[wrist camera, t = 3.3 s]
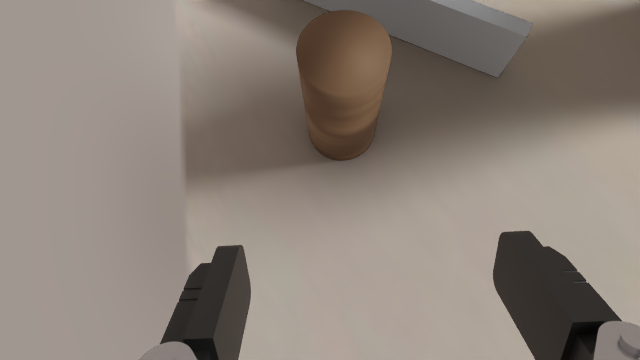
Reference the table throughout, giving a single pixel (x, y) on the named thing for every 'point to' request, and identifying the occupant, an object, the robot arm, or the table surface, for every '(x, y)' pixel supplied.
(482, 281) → the table surface
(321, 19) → the walnut pin
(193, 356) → the robot arm
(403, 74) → the table surface
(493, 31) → the acrylic wall
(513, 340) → the table surface
